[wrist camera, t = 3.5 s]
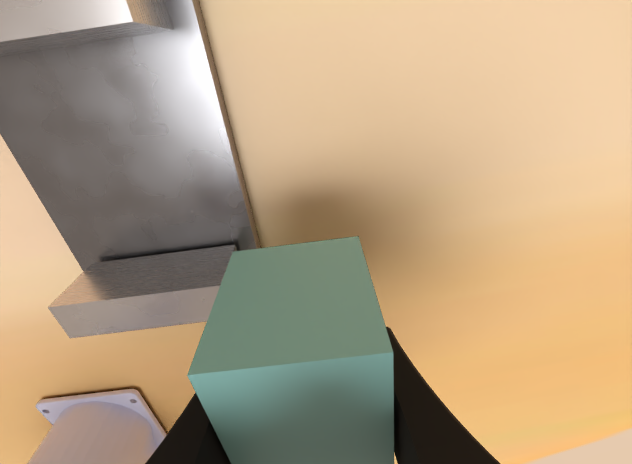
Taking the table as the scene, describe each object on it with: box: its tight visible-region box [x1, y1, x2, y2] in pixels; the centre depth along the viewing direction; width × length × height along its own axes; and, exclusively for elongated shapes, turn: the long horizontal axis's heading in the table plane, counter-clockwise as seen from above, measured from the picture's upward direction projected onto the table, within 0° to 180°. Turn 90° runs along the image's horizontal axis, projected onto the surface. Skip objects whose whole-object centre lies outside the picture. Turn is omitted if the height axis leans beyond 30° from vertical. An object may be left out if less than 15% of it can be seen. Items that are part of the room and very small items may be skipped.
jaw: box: [48, 245, 237, 338], centre depth 16 cm, size 2×8×4 cm, turn 97°
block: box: [187, 236, 394, 464], centre depth 11 cm, size 7×4×5 cm, turn 7°
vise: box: [0, 0, 261, 271], centre depth 15 cm, size 18×10×4 cm, turn 7°
